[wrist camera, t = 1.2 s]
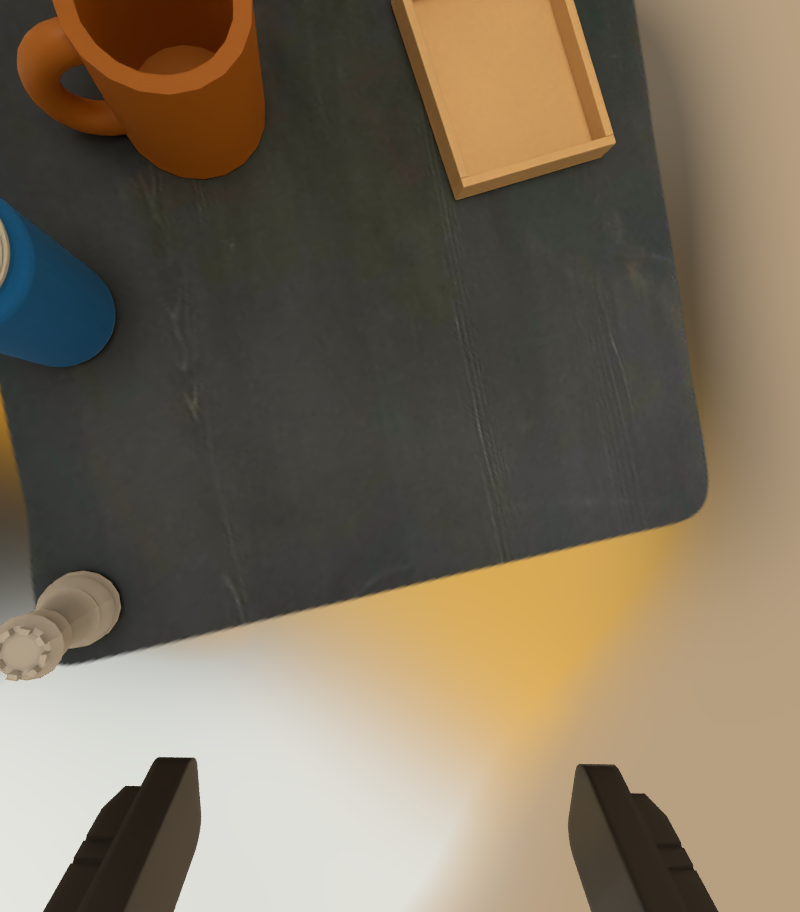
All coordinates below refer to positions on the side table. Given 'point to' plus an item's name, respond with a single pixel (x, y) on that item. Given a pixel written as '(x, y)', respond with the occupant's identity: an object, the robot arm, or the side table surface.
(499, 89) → the tray
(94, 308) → the beverage can
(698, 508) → the side table surface
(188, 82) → the mug
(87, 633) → the rook chess piece
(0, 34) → the side table surface
